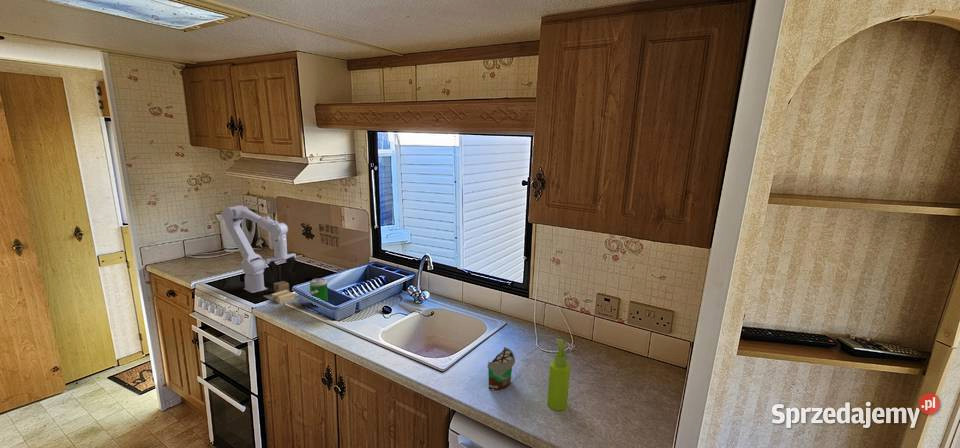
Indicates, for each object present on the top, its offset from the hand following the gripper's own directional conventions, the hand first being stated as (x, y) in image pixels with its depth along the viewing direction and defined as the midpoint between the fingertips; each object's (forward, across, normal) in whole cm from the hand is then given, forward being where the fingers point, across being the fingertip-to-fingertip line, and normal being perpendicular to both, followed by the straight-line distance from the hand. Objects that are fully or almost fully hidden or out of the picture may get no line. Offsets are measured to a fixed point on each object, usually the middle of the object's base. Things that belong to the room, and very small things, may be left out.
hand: (282, 274), depth 200 cm
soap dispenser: (+10, +4, -147) cm, 148 cm away
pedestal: (+9, -5, -10) cm, 14 cm away
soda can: (+10, +3, -26) cm, 28 cm away
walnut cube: (+9, -1, 0) cm, 9 cm away
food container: (+10, +3, -129) cm, 130 cm away
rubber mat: (+10, -4, -6) cm, 12 cm away
